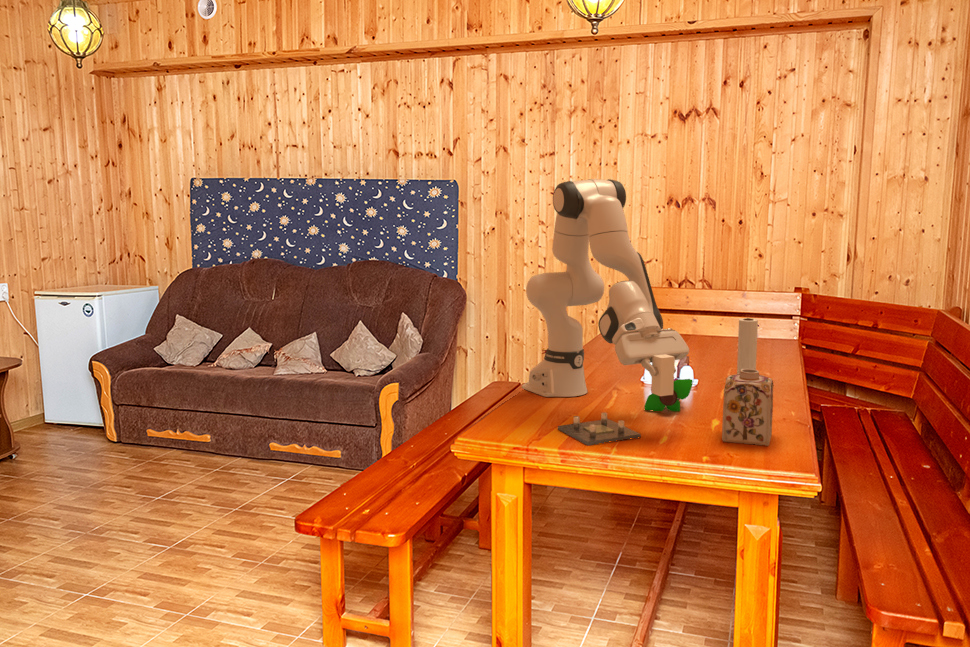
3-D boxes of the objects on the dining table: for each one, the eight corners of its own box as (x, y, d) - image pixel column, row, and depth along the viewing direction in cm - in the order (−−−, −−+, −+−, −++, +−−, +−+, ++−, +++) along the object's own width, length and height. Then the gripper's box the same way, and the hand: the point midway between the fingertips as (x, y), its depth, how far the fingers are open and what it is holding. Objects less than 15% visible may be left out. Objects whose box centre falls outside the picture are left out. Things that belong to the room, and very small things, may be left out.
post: (651, 392, 212) (652, 355, 210) (664, 391, 213) (665, 354, 212) (660, 396, 208) (661, 358, 207) (673, 394, 210) (674, 356, 208)
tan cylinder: (749, 384, 269) (751, 321, 266) (733, 381, 274) (735, 319, 270) (760, 381, 274) (763, 318, 270) (744, 378, 278) (746, 316, 275)
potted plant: (653, 429, 234) (654, 408, 268) (704, 403, 230) (699, 384, 264) (631, 392, 234) (636, 375, 268) (683, 365, 230) (681, 351, 264)
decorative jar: (726, 429, 218) (728, 364, 216) (772, 434, 214) (775, 367, 211) (721, 442, 208) (723, 373, 205) (769, 447, 203) (772, 377, 200)
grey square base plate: (557, 429, 221) (557, 415, 220) (608, 422, 227) (608, 408, 226) (587, 445, 206) (587, 430, 205) (640, 437, 212) (641, 422, 212)
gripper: (670, 334, 223) (691, 376, 216) (606, 340, 215) (626, 384, 208) (680, 321, 218) (702, 363, 211) (615, 326, 210) (636, 370, 203)
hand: (664, 373), depth 209 cm, fingers closed on post, 4 cm apart
